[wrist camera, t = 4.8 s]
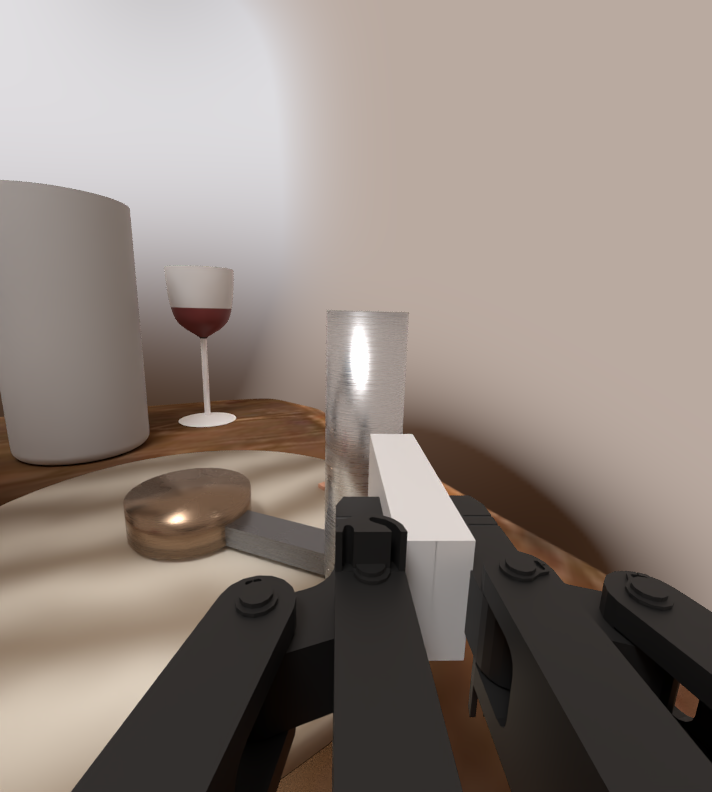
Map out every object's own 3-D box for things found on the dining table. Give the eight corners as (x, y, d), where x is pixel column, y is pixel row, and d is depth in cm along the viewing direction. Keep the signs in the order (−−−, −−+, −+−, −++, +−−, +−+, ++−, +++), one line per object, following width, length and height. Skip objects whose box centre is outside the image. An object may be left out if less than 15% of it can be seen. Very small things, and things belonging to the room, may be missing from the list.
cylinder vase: (174, 435, 48) (157, 213, 43) (80, 475, 36) (41, 176, 31) (90, 425, 51) (65, 216, 46) (-21, 459, 39) (-73, 184, 34)
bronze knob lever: (98, 539, 22) (68, 303, 20) (191, 489, 29) (179, 305, 26) (368, 633, 16) (380, 312, 14) (411, 544, 23) (425, 312, 20)
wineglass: (203, 431, 50) (193, 264, 46) (162, 420, 54) (150, 266, 50) (251, 418, 56) (246, 270, 52) (211, 408, 61) (204, 272, 57)
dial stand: (-49, 516, 29) (-55, 487, 28) (303, 451, 44) (303, 431, 43) (-599, 1344, 6) (-680, 1265, 5) (533, 616, 21) (538, 578, 20)
